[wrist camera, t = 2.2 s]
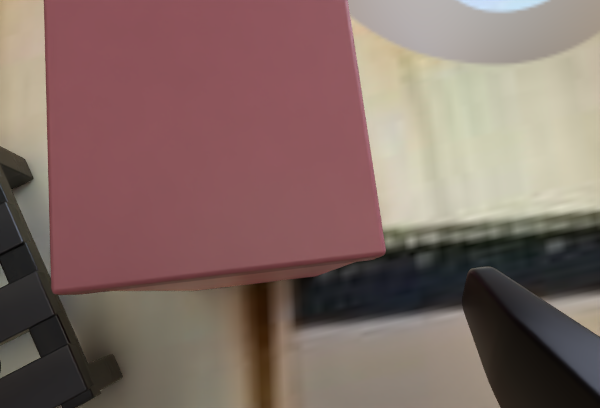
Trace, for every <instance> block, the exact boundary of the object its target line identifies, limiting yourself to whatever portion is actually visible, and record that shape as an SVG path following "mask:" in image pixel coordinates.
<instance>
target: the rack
mask: <svg viewBox="0 0 600 408" xmlns="http://www.w3.org/2000/svg"><path fill="white" fill-rule="evenodd" d="M31 180H33V176H32V174H31V171H30V169H29V167H28V165H27V163H26V160H25V159H24V158H22V157H20V156H18V155H16V154H14V153H12V152H10V151H8V150H7V149H5V148H3V147H1V146H0V263H1V266H2V268H3V270H4V273H5V275H6V277H7V280H8V282H9V284H7V285H5V286H3V287H1V288H0V346H1V345H3V344H5V343H7V342H9V341H11V340H13V339H15V338H17V337H19V336H21V335H22V334H24V333H26V332H28V331H30V334H31V336H32V338H33V341H34V343H35V345H36V348H37V350H38V352H39V355H40V357H41V358H39V359H37V360H35V361H33V362H31V363H29V364H27V365H25V366H23V367H22V368H20V369H18V370H16V371H14V372H12V373H10V374H8V375H6V376H4V377H2V378H0V408H56V407H58V406H60V405H61V406H62V408H76V407H78V406H80V405H82V404H84V403H85V402H87V401H89V400H91V399H93V398H95V397H96V396H98V395H100V393H101V391H100V390H102V389H104V388H106V387H107V386H109V385H111V384H113V383H115V382H116V381H118V380H120V379H122V377H123V375H122V373H121V371H120V369H119V366H118V364H117V362H116V360H115V358H114V355H113V354H111V355H108V356H106V357H103V358H101V359H98V360H95V361H93V362H90V363H88V362H87V360H86V357H85V355H84V353H83V351H82V348H81V346H80V344H79V342H78V339H77V337H76V335H75V333H74V330H73V328H72V326H71V324H70V321H69V319H68V317H67V314H66V312H65V310H64V308H63V305H62V303H61V301H60V299H59V296H58V295H57V294H53V292H52V290H51V278H50V276H49V274H48V272H47V269H46V267H45V265H44V262H43V260H42V258H41V256H40V253H39V251H38V249H37V247H36V244H35V242H34V240H33V238H32V235H31V233H30V231H29V229H28V226H27V224H26V222H25V220H24V217H23V215H22V213H21V210H20V208H19V206H18V204H17V201H16V199H15V197H14V195H13V192H12V190H11V189H14V188H16V187H18V186H20V185H22V184H24V183H27V182H29V181H31Z"/></svg>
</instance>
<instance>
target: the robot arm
mask: <svg viewBox="0 0 600 408" xmlns="http://www.w3.org/2000/svg"><path fill="white" fill-rule="evenodd" d="M462 306H463V310H464V313H465V316H466V319H467V322H468V325H469V328H470V330H471V333H472V336H473V339H474V342H475V345H476V348H477V350H478V353H479V356H480V359H481V362H482V365H483V367H484V370H485V373H486V376H487V378H488V381H489V384H490V386H491V388H492V390H493V392H494V395H495V397H496V399H497V401H498V403H499V405H500V407H501V408H600V337H599V336H598V335H596V334H595V333H593V332H591V331H590V330H588V329H587V328H585V327H584V326H582V325H581V324H579V323H578V322H576V321H575V320H573V319H571V318H570V317H568V316H567V315H565V314H564V313H562V312H561V311H559V310H558V309H556V308H555V307H553V306H551V305H550V304H548V303H547V302H545V301H544V300H542V299H541V298H539V297H538V296H536V295H535V294H533V293H532V292H530V291H528V290H527V289H525V288H524V287H522V286H521V285H519V284H518V283H516V282H515V281H513V280H512V279H510V278H508V277H507V276H505V275H504V274H502V273H501V272H499V271H498V270H496V269H494V268H492V267H481V268H473V269H471V270H469V272H468V274H467V278H466V283H465V288H464V292H463V297H462ZM0 371H1V362H0Z"/></svg>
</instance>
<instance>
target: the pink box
mask: <svg viewBox="0 0 600 408" xmlns="http://www.w3.org/2000/svg"><path fill="white" fill-rule="evenodd" d="M44 22H45V61H46V100H47V140H48V179H49V219H50V258H51V290H52V292H53V294H57V295H79V294H89V293H97V292H106V291H198V290H206V289H215V288H223V287H231V286H239V285H248V284H256V283H264V282H273V281H281V280H289V279H297V278H306V277H314V276H318V275H321V274H323V273H326V272H329V271H331V270H334V269H337V268H340V267H342V266H345V265H348V264H351V263H353V262H357V261H366V260H372V259H375V258H378V257H381V256H383V255H384V254H385V251H386V249H385V242H384V236H383V229H382V222H381V216H380V209H379V203H378V196H377V190H376V183H375V176H374V170H373V163H372V157H371V150H370V144H369V137H368V130H367V124H366V117H365V111H364V104H363V98H362V91H361V84H360V78H359V71H358V65H357V58H356V52H355V45H354V38H353V32H352V25H351V19H350V12H349V6H348V0H44Z"/></svg>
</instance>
